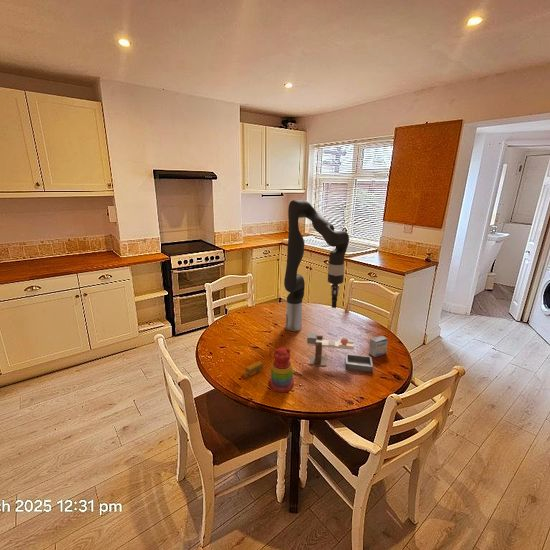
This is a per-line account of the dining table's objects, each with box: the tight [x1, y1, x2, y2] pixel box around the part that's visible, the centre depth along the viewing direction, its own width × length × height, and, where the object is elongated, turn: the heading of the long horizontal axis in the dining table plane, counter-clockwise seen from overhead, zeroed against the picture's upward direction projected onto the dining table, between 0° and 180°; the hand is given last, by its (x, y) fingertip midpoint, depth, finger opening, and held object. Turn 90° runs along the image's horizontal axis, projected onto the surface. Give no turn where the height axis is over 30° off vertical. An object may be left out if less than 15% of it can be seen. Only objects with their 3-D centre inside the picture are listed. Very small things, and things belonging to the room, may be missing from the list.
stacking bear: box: [268, 347, 295, 393], centre depth 126 cm, size 11×10×18 cm
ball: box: [340, 337, 349, 345], centre depth 140 cm, size 3×3×3 cm
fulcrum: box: [309, 334, 328, 367], centre depth 144 cm, size 8×8×12 cm
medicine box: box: [368, 335, 388, 358], centre depth 151 cm, size 8×4×9 cm, turn 117°
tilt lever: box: [306, 332, 355, 351], centre depth 142 cm, size 22×6×4 cm, turn 78°
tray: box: [344, 353, 374, 374], centre depth 142 cm, size 12×9×3 cm
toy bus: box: [241, 360, 264, 379], centre depth 137 cm, size 3×10×4 cm, turn 132°
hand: (334, 305), depth 148 cm, fingers open, 5 cm apart
